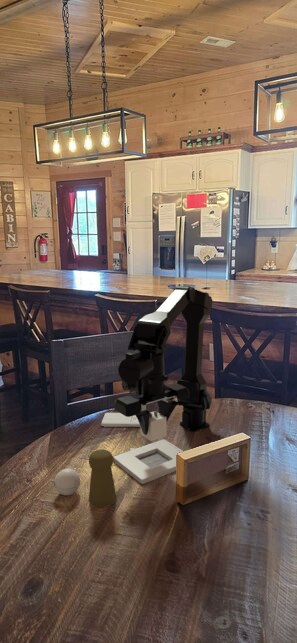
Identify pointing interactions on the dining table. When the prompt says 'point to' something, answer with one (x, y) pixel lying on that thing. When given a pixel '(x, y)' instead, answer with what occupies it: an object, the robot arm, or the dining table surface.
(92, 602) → the dining table surface
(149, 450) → the outlet plate
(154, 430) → the charger brick
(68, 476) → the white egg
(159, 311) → the robot arm
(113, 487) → the olive pawn
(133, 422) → the external hard drive
